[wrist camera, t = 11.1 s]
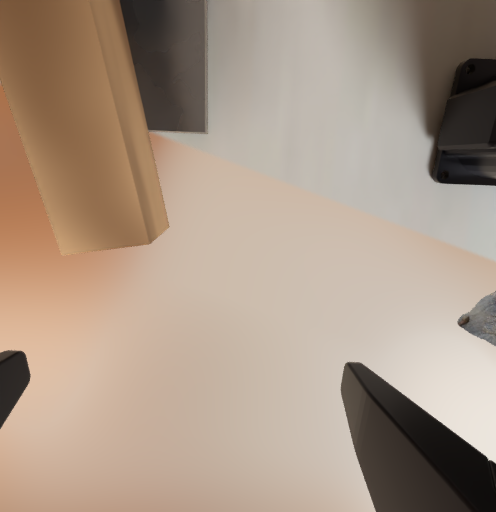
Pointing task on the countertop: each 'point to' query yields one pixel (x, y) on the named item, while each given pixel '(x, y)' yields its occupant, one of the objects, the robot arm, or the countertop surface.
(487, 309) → the driftwood
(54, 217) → the oak rod
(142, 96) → the ridge stand
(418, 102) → the countertop surface
